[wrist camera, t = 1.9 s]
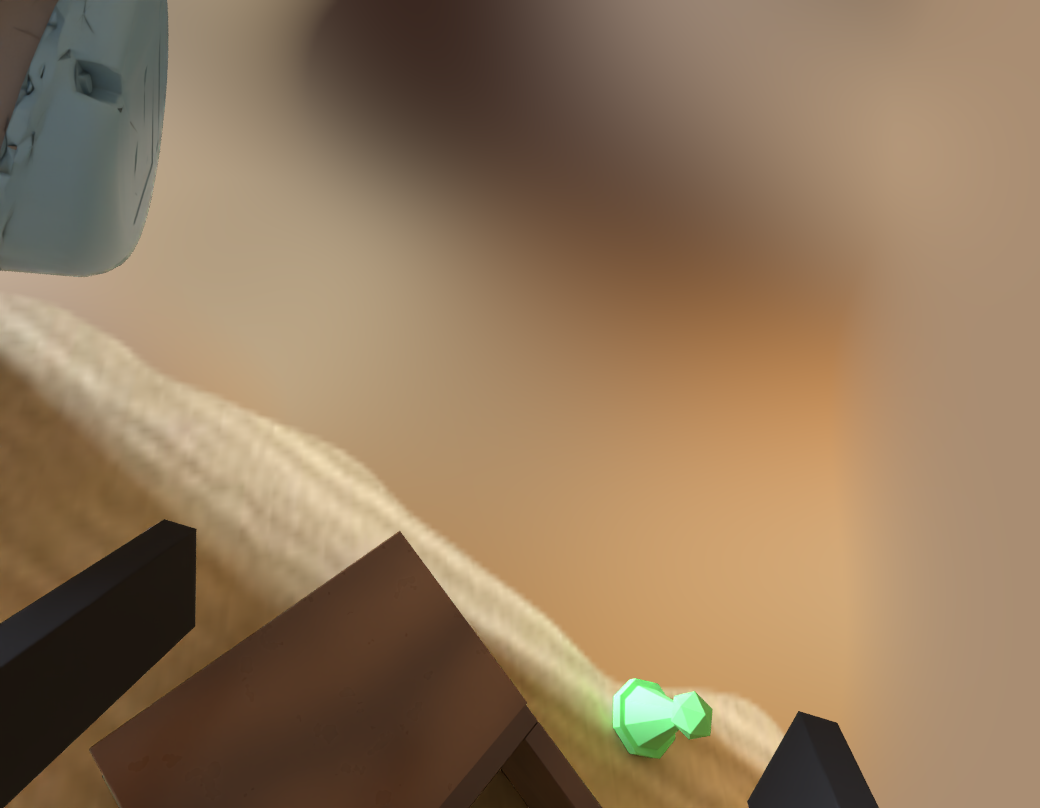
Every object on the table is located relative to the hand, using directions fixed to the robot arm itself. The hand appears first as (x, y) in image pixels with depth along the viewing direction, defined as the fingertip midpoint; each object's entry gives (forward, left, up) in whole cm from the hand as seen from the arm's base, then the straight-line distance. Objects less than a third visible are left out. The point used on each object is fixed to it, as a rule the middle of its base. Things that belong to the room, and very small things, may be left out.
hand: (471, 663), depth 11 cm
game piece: (+12, +13, -20) cm, 27 cm away
